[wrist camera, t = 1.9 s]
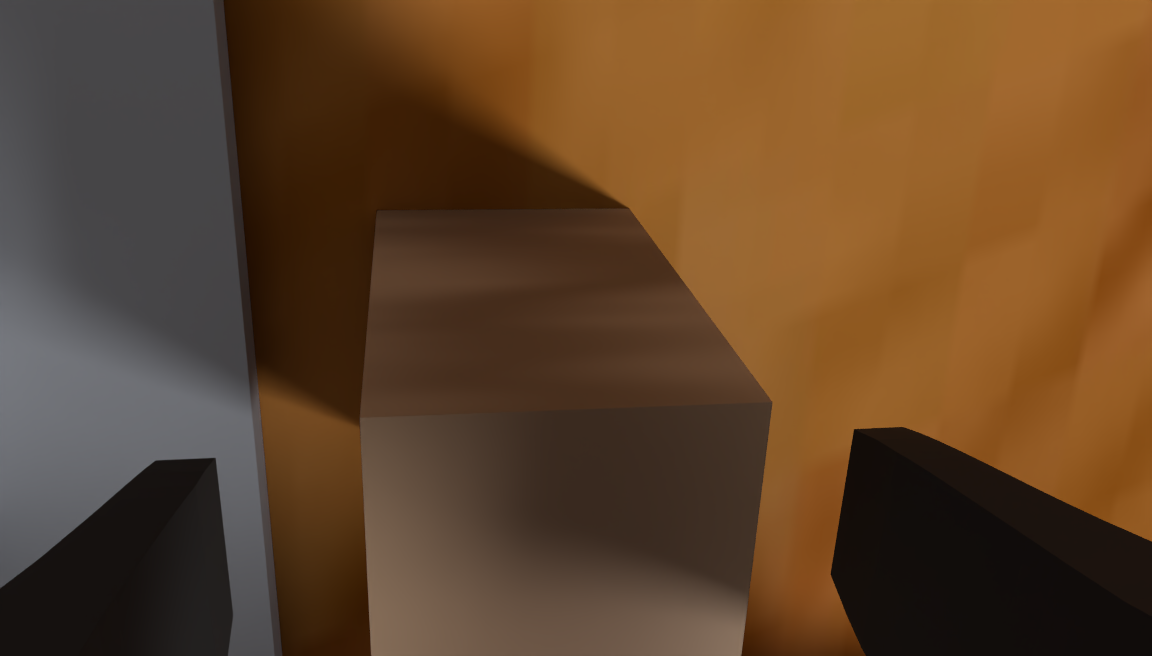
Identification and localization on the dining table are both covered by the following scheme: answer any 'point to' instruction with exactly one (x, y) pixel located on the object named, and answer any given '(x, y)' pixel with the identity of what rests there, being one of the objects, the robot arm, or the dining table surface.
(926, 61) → the dining table surface
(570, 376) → the walnut peg
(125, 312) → the socket board
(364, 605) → the dining table surface
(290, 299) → the dining table surface
